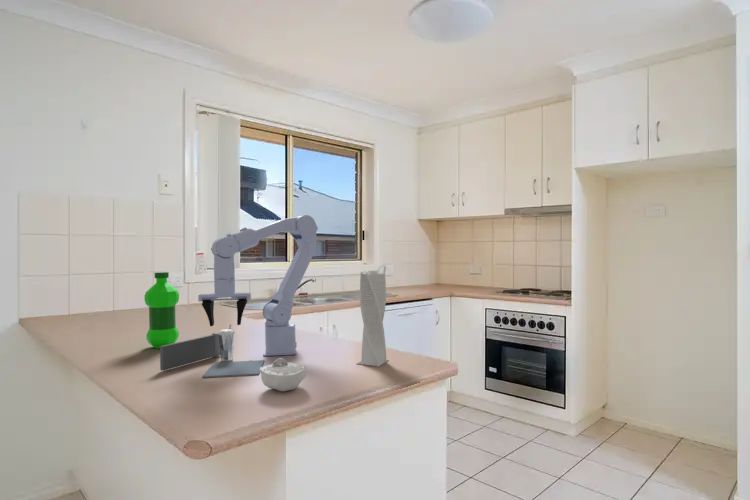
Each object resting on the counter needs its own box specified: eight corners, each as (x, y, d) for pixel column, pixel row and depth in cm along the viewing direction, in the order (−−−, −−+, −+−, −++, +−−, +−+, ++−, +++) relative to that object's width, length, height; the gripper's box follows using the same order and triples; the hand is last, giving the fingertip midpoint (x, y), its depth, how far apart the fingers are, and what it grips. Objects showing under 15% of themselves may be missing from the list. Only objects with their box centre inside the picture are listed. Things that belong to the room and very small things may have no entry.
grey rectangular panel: (222, 354, 140) (221, 333, 140) (164, 370, 123) (164, 346, 122) (216, 353, 141) (216, 332, 141) (159, 369, 124) (158, 345, 124)
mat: (264, 361, 132) (264, 360, 132) (258, 375, 119) (258, 373, 119) (213, 363, 131) (213, 362, 131) (202, 377, 117) (202, 376, 117)
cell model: (265, 400, 99) (265, 369, 99) (256, 385, 110) (256, 357, 110) (311, 393, 103) (310, 363, 103) (298, 379, 114) (297, 352, 114)
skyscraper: (393, 362, 131) (392, 264, 130) (382, 369, 123) (380, 265, 123) (367, 359, 134) (365, 263, 134) (354, 366, 127) (352, 265, 127)
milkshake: (238, 357, 137) (237, 324, 137) (231, 362, 132) (230, 327, 132) (223, 357, 138) (223, 324, 138) (216, 362, 133) (215, 327, 132)
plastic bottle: (157, 343, 160) (156, 271, 160) (185, 343, 159) (184, 271, 158) (139, 349, 150) (137, 273, 150) (168, 350, 149) (167, 273, 148)
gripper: (251, 277, 139) (252, 321, 140) (201, 278, 137) (203, 323, 138) (248, 278, 132) (249, 325, 133) (196, 280, 130) (197, 328, 131)
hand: (225, 325), depth 135 cm, fingers open, 7 cm apart
